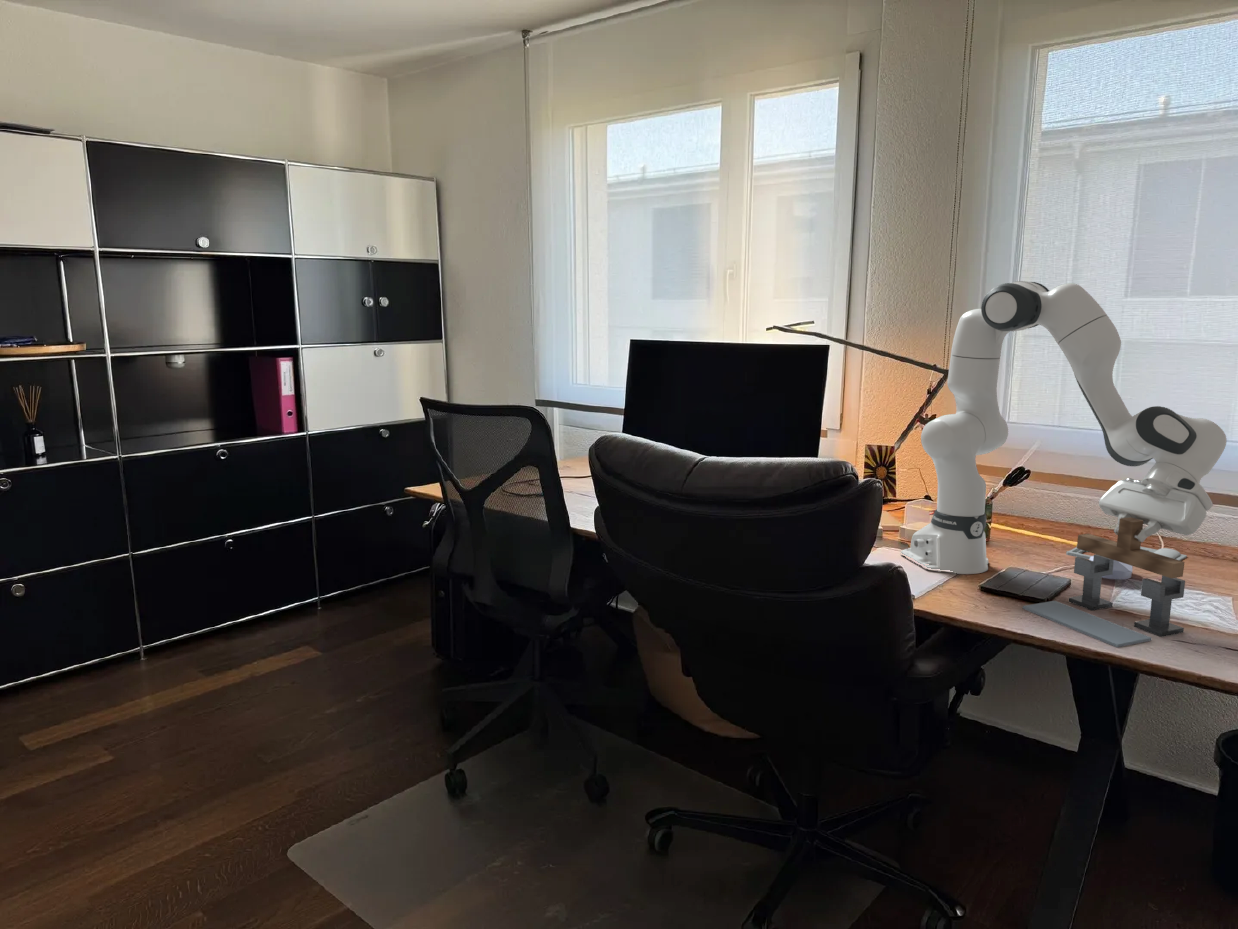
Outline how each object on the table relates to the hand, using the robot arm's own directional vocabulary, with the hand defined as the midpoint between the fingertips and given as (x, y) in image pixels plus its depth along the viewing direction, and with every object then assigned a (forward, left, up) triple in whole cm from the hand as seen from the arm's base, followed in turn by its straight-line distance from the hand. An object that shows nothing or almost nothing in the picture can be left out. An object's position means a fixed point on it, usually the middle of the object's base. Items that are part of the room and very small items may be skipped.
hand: (1127, 536), depth 175 cm
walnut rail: (0, +1, -5) cm, 5 cm away
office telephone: (-32, +40, -18) cm, 54 cm away
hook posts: (0, +1, -17) cm, 17 cm away
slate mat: (0, -10, -17) cm, 20 cm away
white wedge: (-21, +22, -18) cm, 35 cm away
